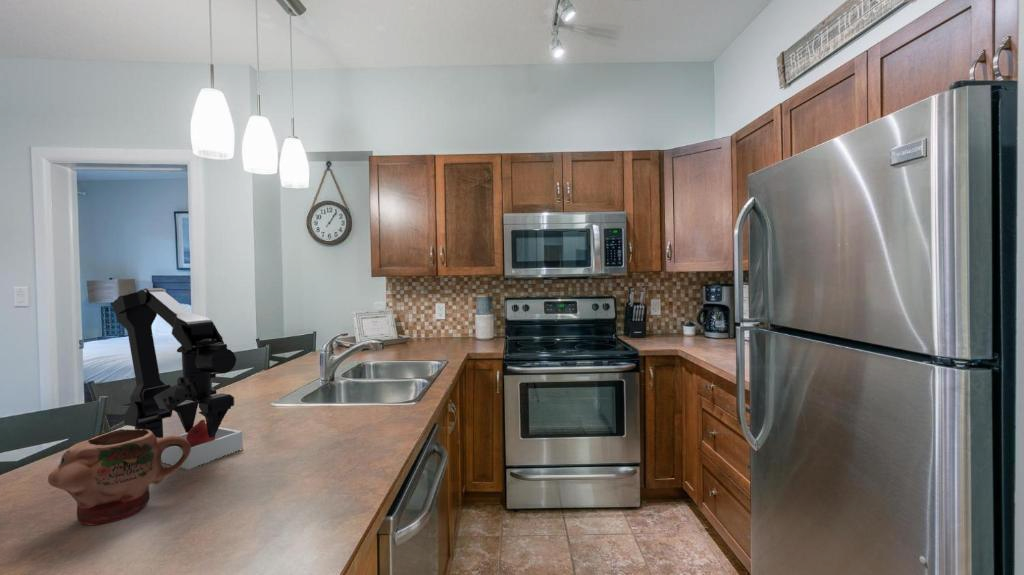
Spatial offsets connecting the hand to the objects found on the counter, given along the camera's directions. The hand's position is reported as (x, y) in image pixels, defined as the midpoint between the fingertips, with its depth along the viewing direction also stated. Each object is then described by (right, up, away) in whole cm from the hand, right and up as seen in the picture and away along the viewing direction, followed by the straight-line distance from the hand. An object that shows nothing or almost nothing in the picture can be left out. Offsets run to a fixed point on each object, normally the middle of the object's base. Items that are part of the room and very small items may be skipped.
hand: (200, 434), depth 108 cm
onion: (0, -5, 0) cm, 5 cm away
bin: (0, -5, 0) cm, 5 cm away
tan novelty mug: (+4, -6, -25) cm, 26 cm away
